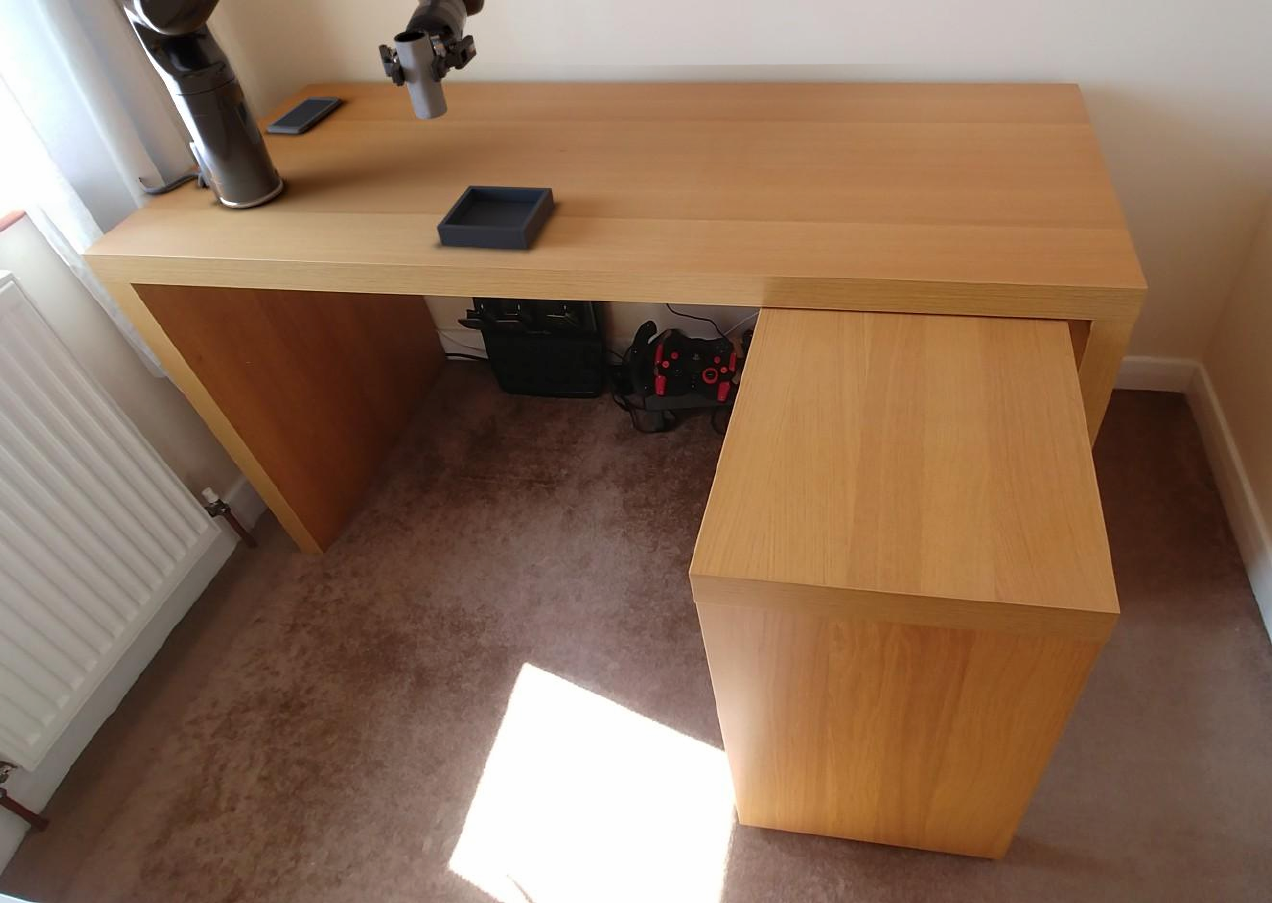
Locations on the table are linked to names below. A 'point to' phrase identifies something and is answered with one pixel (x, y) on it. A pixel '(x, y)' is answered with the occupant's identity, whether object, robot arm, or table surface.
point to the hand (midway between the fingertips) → (416, 76)
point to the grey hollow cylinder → (420, 73)
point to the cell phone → (304, 115)
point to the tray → (496, 217)
